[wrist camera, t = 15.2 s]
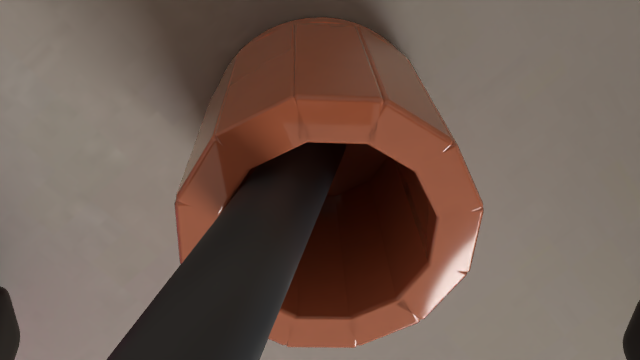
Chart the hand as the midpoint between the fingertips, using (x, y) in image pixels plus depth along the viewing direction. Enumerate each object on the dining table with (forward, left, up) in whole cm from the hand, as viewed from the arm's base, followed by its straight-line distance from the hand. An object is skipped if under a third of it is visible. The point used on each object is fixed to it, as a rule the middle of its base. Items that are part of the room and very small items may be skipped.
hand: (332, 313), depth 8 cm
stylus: (0, 0, -6) cm, 6 cm away
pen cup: (0, 0, -7) cm, 7 cm away
